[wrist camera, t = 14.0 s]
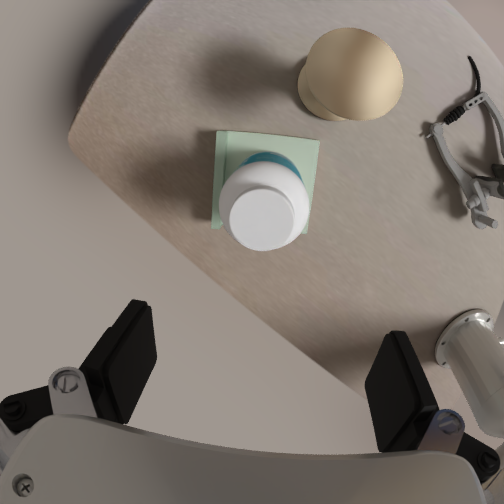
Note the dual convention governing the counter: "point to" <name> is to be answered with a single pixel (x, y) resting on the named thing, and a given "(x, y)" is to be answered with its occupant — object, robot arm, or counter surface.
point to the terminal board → (247, 143)
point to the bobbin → (350, 76)
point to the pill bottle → (264, 202)
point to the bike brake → (472, 188)
